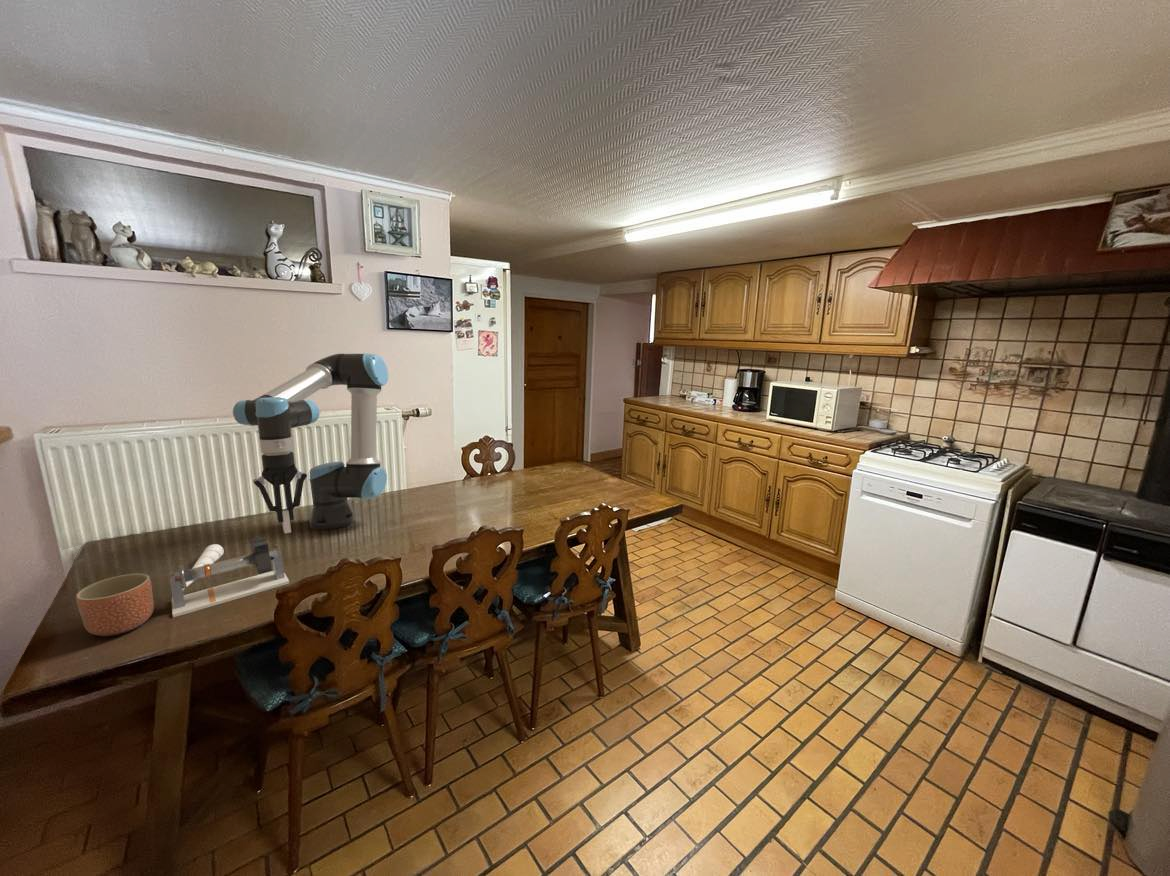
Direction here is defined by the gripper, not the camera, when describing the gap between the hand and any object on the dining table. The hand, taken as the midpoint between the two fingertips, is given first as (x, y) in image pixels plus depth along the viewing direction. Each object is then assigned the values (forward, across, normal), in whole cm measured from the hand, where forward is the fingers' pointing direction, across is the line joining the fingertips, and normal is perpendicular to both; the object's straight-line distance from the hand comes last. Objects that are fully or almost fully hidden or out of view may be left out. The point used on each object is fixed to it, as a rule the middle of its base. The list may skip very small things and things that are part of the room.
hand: (287, 531), depth 133 cm
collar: (+9, -7, 0) cm, 12 cm away
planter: (+14, -36, -2) cm, 39 cm away
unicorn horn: (+15, -20, +21) cm, 32 cm away
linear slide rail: (+14, -14, 0) cm, 20 cm away
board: (+14, -14, 0) cm, 20 cm away
